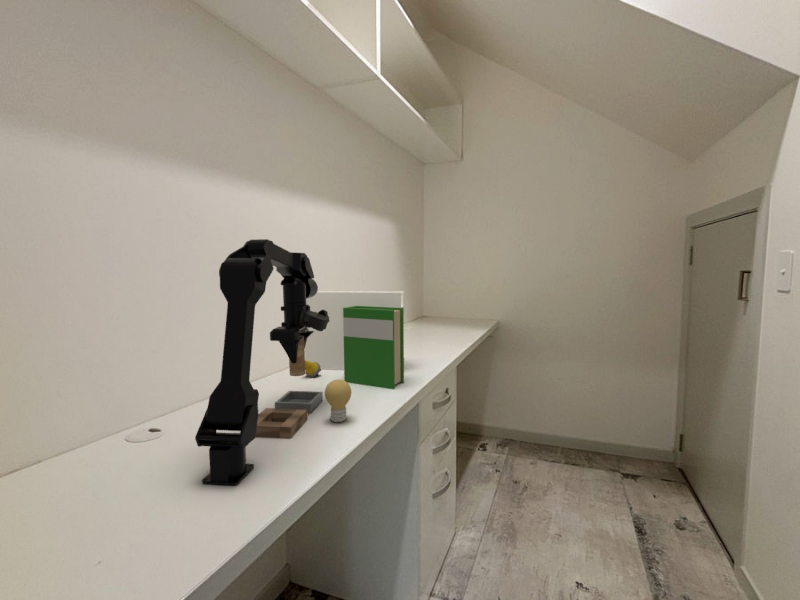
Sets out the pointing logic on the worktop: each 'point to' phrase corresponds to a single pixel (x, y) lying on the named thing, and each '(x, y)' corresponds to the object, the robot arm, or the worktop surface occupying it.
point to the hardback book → (373, 346)
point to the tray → (300, 400)
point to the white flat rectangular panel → (341, 322)
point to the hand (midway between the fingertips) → (297, 360)
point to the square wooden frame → (280, 422)
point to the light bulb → (338, 398)
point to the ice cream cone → (312, 368)
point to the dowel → (298, 361)
